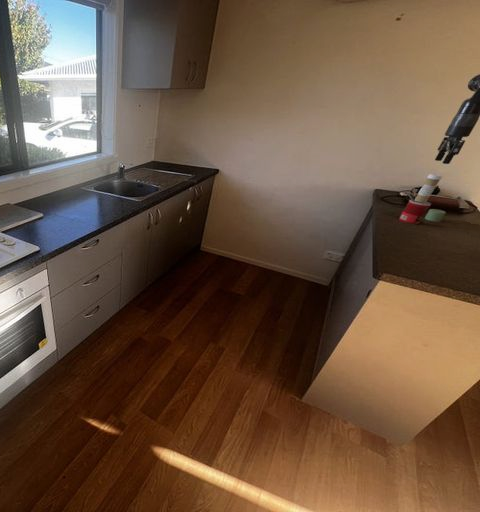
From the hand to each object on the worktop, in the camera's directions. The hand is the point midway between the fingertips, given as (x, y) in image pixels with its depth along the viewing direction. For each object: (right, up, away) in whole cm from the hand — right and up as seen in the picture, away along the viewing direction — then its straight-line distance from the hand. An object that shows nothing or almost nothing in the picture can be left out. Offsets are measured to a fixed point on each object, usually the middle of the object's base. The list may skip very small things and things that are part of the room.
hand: (441, 162), depth 137 cm
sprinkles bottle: (0, -17, +9) cm, 20 cm away
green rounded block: (+16, -25, +17) cm, 35 cm away
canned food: (0, -27, +15) cm, 31 cm away
